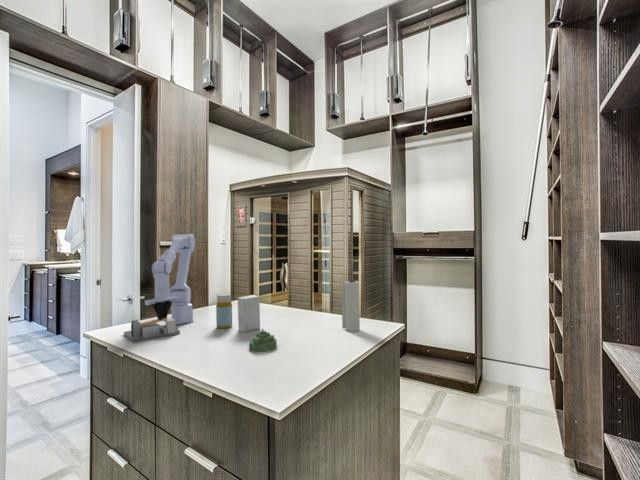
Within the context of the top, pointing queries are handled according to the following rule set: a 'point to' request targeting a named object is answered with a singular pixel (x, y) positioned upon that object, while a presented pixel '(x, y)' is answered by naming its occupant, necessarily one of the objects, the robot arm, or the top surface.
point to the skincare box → (248, 313)
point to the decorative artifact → (262, 342)
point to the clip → (170, 325)
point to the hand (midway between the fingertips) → (162, 319)
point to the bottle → (224, 311)
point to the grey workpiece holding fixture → (147, 331)
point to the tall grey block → (350, 306)
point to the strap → (151, 322)
